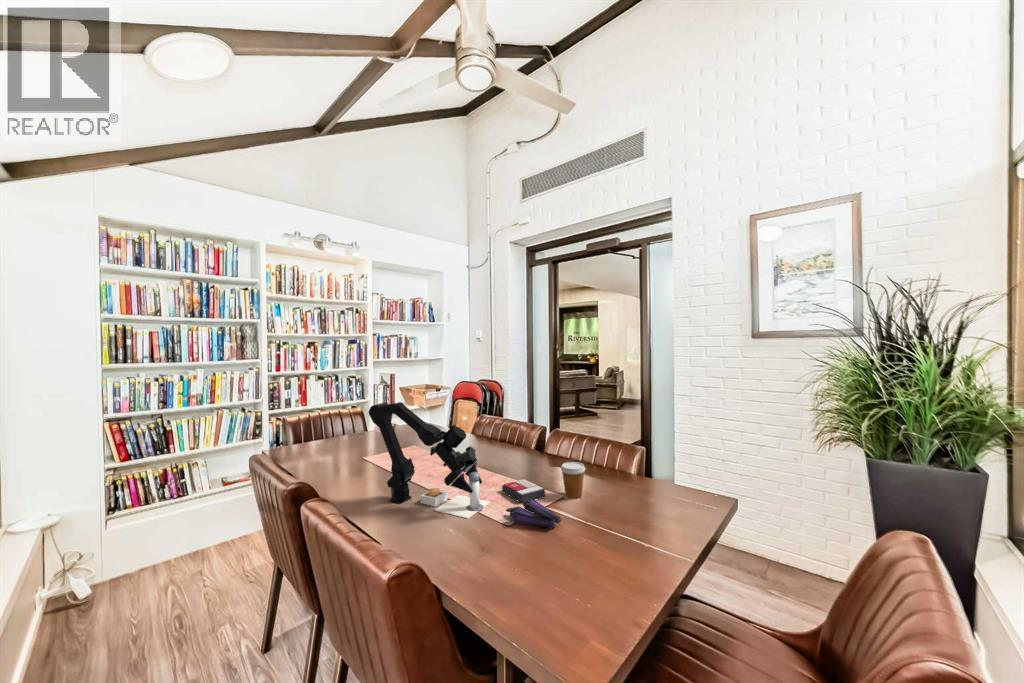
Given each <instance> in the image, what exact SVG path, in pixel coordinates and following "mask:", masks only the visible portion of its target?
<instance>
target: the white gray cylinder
mask: <svg viewBox="0 0 1024 683" xmlns="http://www.w3.org/2000/svg"><path fill="white" fill-rule="evenodd" d="M479 476H480V473H479V471H478V472H471V473H469V477H468V481H469V482H468V484H469V486H470V487H471V489H472V490H473V492H472V493H469V497H470V508H471V509H478V508H480V500H481V499H480V484H479Z"/></svg>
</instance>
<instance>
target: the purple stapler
mask: <svg viewBox="0 0 1024 683" xmlns="http://www.w3.org/2000/svg"><path fill="white" fill-rule="evenodd" d="M521 505H523V507H521V506H518V505H517V506H515V507H508V508H506V510H505V511H506V512H509V516H510V518H511V519H512V520H513V521H514V522H515V524H517V525H528V526H530V525H531V526H541V527H545V528H546V529H547V528H548V529H550V530H555V529H556V527H557V524H558V525H559V524H560V523H561V521H562V520H561V517H560V516H559V515H557V514H556V513H555V512H553V511H552V510H550V509H549V508H547V507H546V506H544V505H542V504H541V503H540V502H539V501H538V500H534V499H532V500H526V501H522V504H521ZM554 528H555V529H554Z"/></svg>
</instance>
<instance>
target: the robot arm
mask: <svg viewBox="0 0 1024 683" xmlns="http://www.w3.org/2000/svg"><path fill="white" fill-rule="evenodd" d="M393 414H394V415H396V416H397V417H398V418H399V419H400V420H401V421H403V422H404V423H405V424H406V425H408V427H410V428H411V429H412V430H414V432H415V433H416V434H417V436H418V439H419V440H420V441H421V443H423V445H425V446H426V447H431V446H432V447H431V448H430V454H429V455H430V456H431V457H432V456H433V455H435V454H436V455H437V456H438V457H439V458H440V459H441V461H442V463H443V464H442V465H443V467H444V468H445V467H447V468H448V469H449V470H450V472H449V473H448V474H447V475H446V476H445V477H444V479H443V480H444V484H445V485H446V486H447V487H449V486H450V487H454V488H457V489H460V490H461V491H465V492H466V493H469V494H470V493H472V492H473V490H472V489H471V487H470V486H469V482H467V480H466V479H465V476H467V477H468V478H469V473H471V472H478V473H479V471H478V469H477V466H478V459H477V458H476V457H477V455H476V452H477V450H476V449H475V448H474V447H473V446H471V445H470V446H467V447H466V448H465V451H464V452H461V451H455V449H457V448H458V447H459V446H460V445H461V444H462V443H463V441H464V440H466V438H467V433H466V432H465V430H464V429H463V428H461V427H458V426H457V425H455V424H453V425H451V426H450V427H449V429H448V430H447V431H445V430H441V429H440V428H439V427H436V425H433V424H431V423H427V422H425V421H424V420H423V419H421V417H419V416H418V415H416V414H415V413H414V412H413V411H412V410H410V409H409V408H408V407H407V406H406V405H405V403H403V402H401V401H399V402H396V403H395V402H393V403H387V402H381V403H377V404H374V405H371V406H370V408H369V410H368V415H369V418H370V419H371V421H372V423H373V424H375V425H376V426H377V428H379V431H380V434H381V436H382V439H383V441H384V444H385V447H386V449H387V452H388V454H389V457H390V459H391V471H390V472H391V475H392V476H391V477H390V478H389V479H388V480H387V482H386V484H387V487H388V488H390V490H391V491H390V493H391V498H389V499H388V502H391V501H392V503H396V504H399V503H400V504H403V503H405V502H406V501H408V499H409V500H410V499H412V496H410V488H409V482H411V480H412V478H413V477H414V475H415V468H416V467H415V465H414V463H413V460H412V458H411V457H410V458H407V457H406V456H405V455H404V453H403V452H404V451H403V449H402V447H401V444H400V442H399V439H398V436H397V433H396V431H395V429H394V428H395V427H394V426H393V424H392V422H393V421H392V418H393ZM441 441H442V442H441ZM435 444H436V445H435ZM433 445H435V446H433ZM482 483H483V480H482V479H481V476H480V475H479V485H481V484H482ZM404 501H405V502H404Z"/></svg>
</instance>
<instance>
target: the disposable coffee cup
mask: <svg viewBox="0 0 1024 683" xmlns="http://www.w3.org/2000/svg"><path fill="white" fill-rule="evenodd" d="M560 470H561V473H562V480H563V486H564V493H565V497H566V498H568V499H571V500H572V499H574V500H575V499H580V498H582V496H583V486H584V478H585V477H584V476H585V472H586V467H585V465H584V464H583V463H581V462H578V461H567V462H564V463H562V464H561V467H560Z"/></svg>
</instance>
